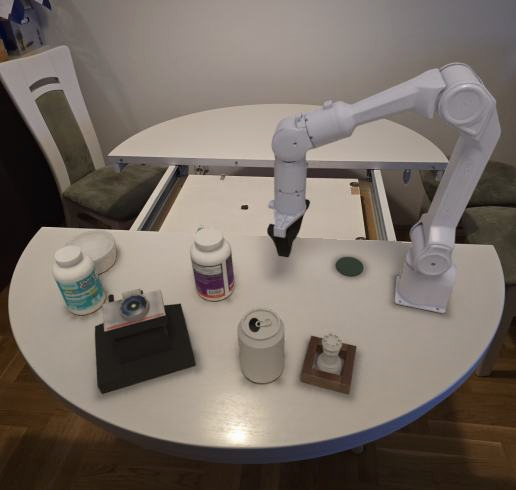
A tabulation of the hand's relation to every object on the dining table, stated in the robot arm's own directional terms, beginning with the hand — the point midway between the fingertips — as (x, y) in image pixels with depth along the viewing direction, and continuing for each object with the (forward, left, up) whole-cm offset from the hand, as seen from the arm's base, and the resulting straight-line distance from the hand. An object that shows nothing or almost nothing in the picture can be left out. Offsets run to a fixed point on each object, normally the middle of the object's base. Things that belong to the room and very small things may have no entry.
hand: (289, 243), depth 81 cm
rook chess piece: (-12, +19, -10) cm, 25 cm away
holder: (-12, +19, -10) cm, 25 cm away
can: (-1, +22, -10) cm, 24 cm away
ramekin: (+44, +7, -10) cm, 46 cm away
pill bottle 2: (+14, +7, -10) cm, 19 cm away
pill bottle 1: (+38, +18, -10) cm, 43 cm away
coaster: (-12, -7, -10) cm, 17 cm away
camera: (+21, +24, -10) cm, 34 cm away
